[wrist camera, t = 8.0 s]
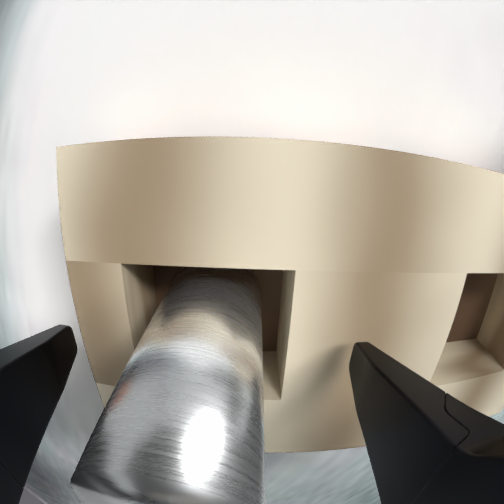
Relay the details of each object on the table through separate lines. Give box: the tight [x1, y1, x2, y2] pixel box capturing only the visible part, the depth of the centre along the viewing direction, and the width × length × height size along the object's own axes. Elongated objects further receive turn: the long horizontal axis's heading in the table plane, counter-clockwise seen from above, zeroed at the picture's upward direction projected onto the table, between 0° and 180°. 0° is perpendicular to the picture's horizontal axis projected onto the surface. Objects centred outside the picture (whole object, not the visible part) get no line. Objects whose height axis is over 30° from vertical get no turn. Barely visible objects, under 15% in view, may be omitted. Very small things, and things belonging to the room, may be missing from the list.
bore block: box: [57, 137, 504, 453], centre depth 11 cm, size 20×12×4 cm, turn 88°
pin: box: [71, 266, 265, 504], centre depth 8 cm, size 4×4×9 cm
